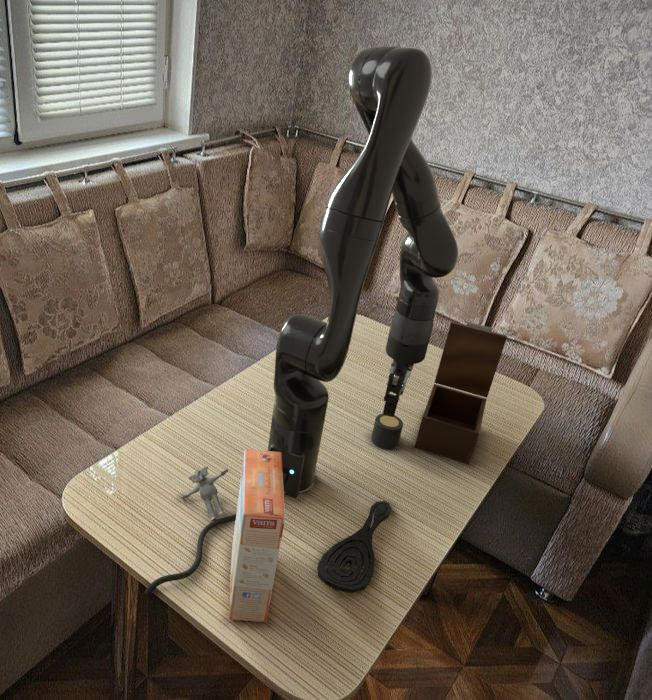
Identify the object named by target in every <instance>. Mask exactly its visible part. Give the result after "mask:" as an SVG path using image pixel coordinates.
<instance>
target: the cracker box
mask: <svg viewBox="0 0 652 700" xmlns="http://www.w3.org/2000/svg"><path fill="white" fill-rule="evenodd" d="M237 497H238V498H237V506H236V513H235V514H236V520H234V527H233V528H234V529H233V536H232V543H231V555H230V556H231V557H230V577H229V578H230V580H229V581H230V582H229V605H228V606H229V608H228V609H229V611H228V620H232V621H243V622H246V621H247V622H255V623H267V621H268V615H269V610H270V605H271V600H272V593H273V587H274V582H275V576H276V572H277V565H278V560H279V559H278V558H279V553H280V549H281V544H282V543H281V542H282V538H283V532H284V526H285V522H286V510H285V507H286V506H285V495H284V489H283V470H282V453H281V452H274V451H268V450H259V449H250V448H249V449H248V448H244V451H243V457H242V465H241V473H240V482H239V490H238V496H237Z"/></svg>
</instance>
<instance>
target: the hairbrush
mask: <svg viewBox="0 0 652 700" xmlns="http://www.w3.org/2000/svg"><path fill="white" fill-rule="evenodd" d="M392 510H393V509H392V505H391V504H390V502H387V501H386V500H381V501H380V500H379V501H375V502H374V503H373V504H372V505H371V506H370V509H369V512H368V516H367V517H366V519H365V521H364V522H363V525H362V527H360V529H358V530H357V531H355V532H354V533H353V534H351V535H347V536H346V537H345V538H344V539H341V540H340V541H338V542H337V543H335V544H333V545H332V546H331V547H330V548H329V549H328V550H327V551H326V552H325V553H323V555H322V556H321V558H320V559H319V561H318V564H317V569H316V571H317V577H318V578H319V579H320V580H321V581H322V582H323V583H324V584H325V585H326V586H328V587H330V588H332V589H333V590H335V591H338V592H342V593H347V594H348V593H349V594H355V593H359V592H362V591H363V590H366V588H367V587H368V585H369V584H370V582H371V580H372V579H373V576H374V573H375V563H376V552H375V551H376V548H374V544H373V542H374V540H373V534H374V533H375V531H376V530H377V529H378V527H379V526H380V524H382V523H383V522H384V521H386V520H387V519H388V518H389V517H390V515H391V512H392ZM347 565H348V567H349V568H346V566H347Z"/></svg>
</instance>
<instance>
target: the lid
mask: <svg viewBox="0 0 652 700" xmlns="http://www.w3.org/2000/svg"><path fill="white" fill-rule="evenodd" d="M492 330H493V327H490V326H486V325H481V324H479V323H474V322H470V321H467V323H466V324H464V323H461V322H455V321H450V324H449V328H448V332H447V335H446V339H445V344H444V346H443V349H442V353H441V357H440V361H439V365H438V368H437V372H436V375H435V379H434V384H436V385H440V386H443V387H447V388H450V389H454V390H457V391H461V392H464V393H468V394H471V395H475V396H478V397H482V398H485V399H487V398H488V396H489V393H490V391H491V388H492V385H493V381H494V378H495V375H496V372H497V369H498V365H499V363H500V360H501V358H502V355H503V350H504V348H505V345H506V342H507V339H508V335H507V334H504V333H499V332H495V331H492Z"/></svg>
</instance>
